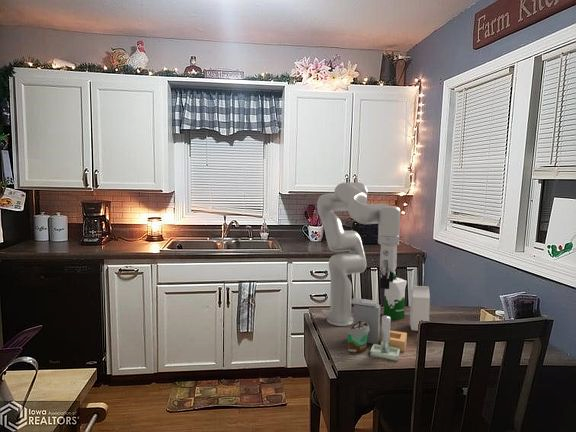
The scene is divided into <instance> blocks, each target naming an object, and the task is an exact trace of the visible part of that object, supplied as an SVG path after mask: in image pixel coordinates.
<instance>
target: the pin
mask: <svg viewBox="0 0 576 432" xmlns="http://www.w3.org/2000/svg"><path fill="white" fill-rule="evenodd" d="M391 321H392V319H391V317H390V316H386V315H381V324H380V326H381V327H380V328H381V330H380V332H381V333H380V345H381V353H386V354H389V353H390V330H391Z"/></svg>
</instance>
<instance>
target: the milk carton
mask: <svg viewBox="0 0 576 432" xmlns="http://www.w3.org/2000/svg"><path fill="white" fill-rule="evenodd" d="M430 294H431V293H430V286H424V285H420V286H419V285H412V286H411V291H410V304H409V305H410V308H409V326H410V329H411V331H415V332H416V331H418V324H419V321H421V320H423V321H429V322H430V310H431V309H430V306H431V305H430V304H431V295H430Z"/></svg>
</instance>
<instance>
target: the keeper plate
mask: <svg viewBox="0 0 576 432" xmlns="http://www.w3.org/2000/svg"><path fill="white" fill-rule="evenodd" d="M352 304H353V305H354V304H359V305H366V306H374V307H376V306H377V305H379V301H378V300H374V299H373V300H372V299H365V298H357V297H353V298H351V305H352Z"/></svg>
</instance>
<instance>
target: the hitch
mask: <svg viewBox="0 0 576 432" xmlns="http://www.w3.org/2000/svg"><path fill="white" fill-rule="evenodd" d="M352 317H353V324H352V326H353V325H354V324H356V323H358V322H359V319H361V320H364V321H366V322H367V323H368V325H369V329H370V330H369V332H368V334H367V344H377V345H379V342H380V337H381V333H380V332H381V330H380V328H381V327H380V326H381V304H377V306H376V307H374V306H366V305H359V304H353V316H352ZM407 339H408V333H407V332H404V331H397V330H391V329H390V347H395V348H400V352H402V353H404V352H405V351H406V347H407V342H408V340H407Z"/></svg>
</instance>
